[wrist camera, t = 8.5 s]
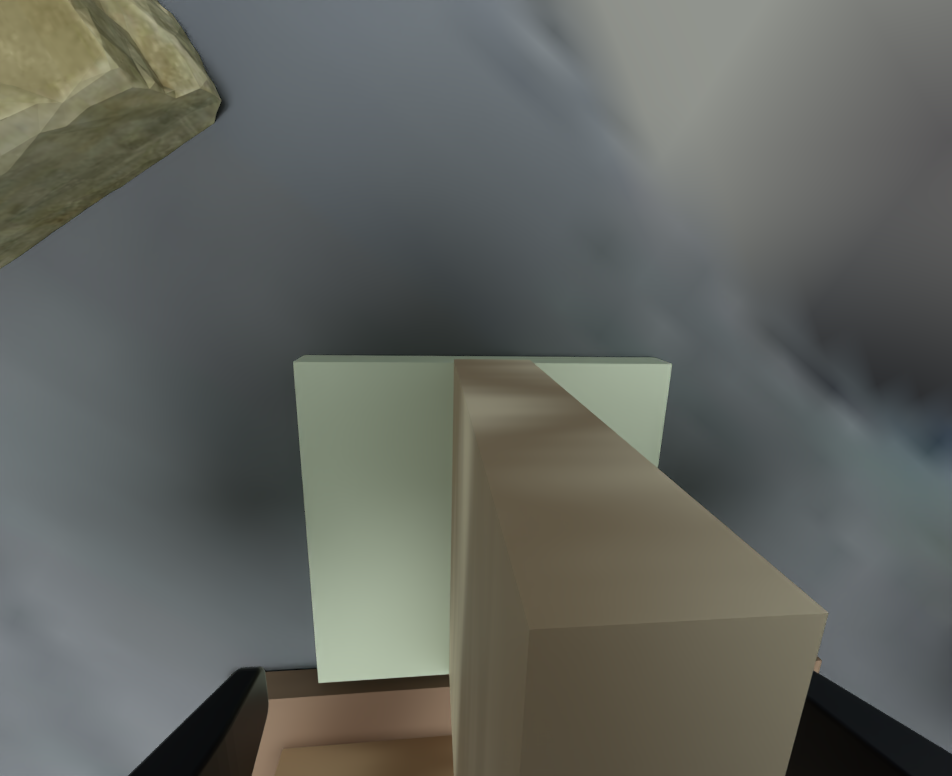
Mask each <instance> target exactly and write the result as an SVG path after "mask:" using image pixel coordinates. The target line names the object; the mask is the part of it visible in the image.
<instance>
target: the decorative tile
mask: <svg viewBox="0 0 952 776" xmlns="http://www.w3.org/2000/svg"><path fill="white" fill-rule="evenodd" d="M220 103H221V99H220V97H219V94H218V92H217V90H216V87H215V85H214V84H213V82H212V81H211V79H210V78H209V76H208V75H207V73H206V71H205V69H204V66H203V63H202V61H201V58H200V55H199V54H198V52H197V51H196V50H195V48H194V47H193V46H192V44H191V42H190V41H189V39H188V37H187V36H186V34H185V32H184V31H183V29H182V28H181V26H180V25H179V23H178V22H177V21H176V19H175V18H174V16H173V15H172V14H171V13H170V12H169V11H167V10H166V9H165V8H163V7H162V6H161V5H160V3H159V2H158V1H157V0H0V269H1V268H2V267H4V266H5V265H7V264H8V263H10V262H11V261H13V260H14V259H16V258H17V257H19V256H21V255H22V254H23V253H25V252H26V251H28V250H29V249H30V248H32V247H33V246H35V245H36V244H37V243H39V242H40V241H42V240H43V239H44V238H46V237H47V236H48V235H50V234H51V233H52V232H53V231H55V230H57V229H58V228H60V227H61V226H63V225H64V224H66V223H67V222H69V221H70V220H71V219H73V218H74V217H76V216H77V215H79V214H80V213H81V212H83V211H84V210H85V209H87V208H88V207H90V206H91V205H93V204H94V203H96V202H97V201H99V200H100V199H102V198H103V197H105V196H106V195H108V194H109V193H111V192H112V191H114V190H116V189H118V188H120V187H122V186H123V185H125V184H126V183H127V182H129V181H130V180H132V179H133V178H134V177H136V176H137V175H139V174H140V173H142V172H143V171H145V170H146V169H148V168H149V167H151V166H152V165H154V164H155V163H157V162H158V161H160V160H161V159H163V158H164V157H166V156H167V155H169V154H170V153H171V152H173V151H174V150H176V149H177V148H178V147H180V146H181V145H183V144H184V143H185V142H187V141H188V140H190V139H191V138H193V137H194V136H196V135H197V134H199V133H200V132H202V131H203V130H205V129H206V128H208V127H209V126H211V125H212V124H213V123H214V122H215V117H216V113H217V110H218V108H219V105H220Z"/></svg>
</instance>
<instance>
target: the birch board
mask: <svg viewBox="0 0 952 776" xmlns="http://www.w3.org/2000/svg"><path fill="white" fill-rule="evenodd" d="M827 617H828V612H827V611H826V610H824V609H823V608H822V607H821V606H820V605H819V604H817V603H816V602H815V601H814V600H813V599H811V598H810V597H809V596H808V595H807V594H806V593H804V592H803V591H802V590H801V589H800V588H799V587H797V586H796V585H795V584H794V583H793V582H791V581H790V580H789V579H788V578H787V577H786V576H784V575H783V574H782V573H781V572H780V571H778V570H777V569H776V568H775V567H774V566H773V565H771V564H770V563H769V562H768V561H767V560H765V559H764V558H763V557H762V556H761V555H760V554H758V553H757V552H756V551H755V550H754V549H752V548H751V547H750V546H749V545H748V544H747V543H745V542H744V541H743V540H742V539H741V538H740V537H738V536H737V535H736V534H735V533H734V532H732V531H731V530H730V529H729V528H728V527H727V526H725V525H724V524H723V523H722V522H721V521H719V520H718V519H717V518H716V517H715V516H714V515H712V514H711V513H710V512H709V511H708V510H706V509H705V508H704V507H703V506H702V505H701V504H699V503H698V502H697V501H696V500H695V499H693V498H692V497H691V496H690V495H689V494H688V493H686V492H685V491H684V490H683V489H682V488H680V487H679V486H678V485H677V484H676V483H675V482H673V481H672V480H671V479H670V478H669V477H668V476H666V475H665V474H664V473H663V472H662V471H660V470H659V469H658V468H657V467H656V466H655V465H653V464H652V463H651V462H650V461H649V460H647V459H646V458H645V457H644V456H643V455H642V454H640V453H639V452H638V451H637V450H636V449H634V448H633V447H632V446H631V445H630V444H629V443H627V442H626V441H625V440H624V439H623V438H621V437H620V436H619V435H618V434H617V433H616V432H614V431H613V430H612V429H611V428H610V427H609V426H607V425H606V424H605V423H604V422H603V421H601V420H600V419H599V418H598V417H597V416H596V415H594V414H593V413H592V412H591V411H590V410H588V409H587V408H586V407H585V406H584V405H583V404H581V403H580V402H579V401H578V400H577V399H575V398H574V397H573V396H572V395H571V394H570V393H568V392H567V391H566V390H565V389H564V388H562V387H561V386H560V385H559V384H558V383H557V382H555V381H554V380H553V379H552V378H551V377H550V376H548V375H547V374H546V373H545V372H544V371H542V370H541V369H540V368H539V367H538V366H537V365H535V364H534V363H533V362H532V361H531V360H496V359H454V393H453V456H452V519H451V582H450V644H449V681H450V703H451V724H452V746H453V768H454V776H785V774H786V770H787V767H788V763H789V759H790V755H791V752H792V748H793V744H794V740H795V737H796V733H797V729H798V725H799V722H800V718H801V714H802V710H803V707H804V703H805V699H806V696H807V692H808V688H809V684H810V681H811V677H812V673H813V669H814V666H815V662H816V658H817V654H818V651H819V647H820V643H821V639H822V636H823V632H824V628H825V625H826V621H827Z"/></svg>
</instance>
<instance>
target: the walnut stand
mask: <svg viewBox="0 0 952 776" xmlns="http://www.w3.org/2000/svg"><path fill="white" fill-rule="evenodd" d="M821 662H822V660H821V659H820V658H819V657H818V656H817V658H816V662H815V666H814V669H813V670H814V671H815V672H817V673H819V670H820V666H821ZM231 675H232V674H231ZM265 675H266V684H267V692H268V701H269V707H268V715H267V719H266V723H265V727H264V731H263V735H262V738H261V742H260V746H259V750H258V754H257V758H256V761H255V765H254V769H253V773H252V776H275V772H276V769H277V766H278V763H279V760H280V756H281V753H282V750H283V749H290V748H302V747H314V746H326V745H338V744H351V743H363V742H375V741H387V740H400V739H412V738H424V737H436V736H448V735H452V724H451V703H450V681H449V674H445V675H430V676H415V677H400V678H386V679H371V680H356V681H341V682H326V683H318V671H317V669H305V670H289V671H274V672H265Z"/></svg>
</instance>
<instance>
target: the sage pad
mask: <svg viewBox="0 0 952 776" xmlns="http://www.w3.org/2000/svg"><path fill="white" fill-rule="evenodd" d="M454 359H496V360H531V361H532V362H533V363H534V364H535V365H537V366H538V367H539V368H540V369H541V370H542V371H544V372H545V373H546V374H547V375H548V376H550V377H551V378H552V379H553V380H554V381H555V382H557V383H558V384H559V385H560V386H561V387H562V388H564V389H565V390H566V391H567V392H568V393H570V394H571V395H572V396H573V397H574V398H575V399H577V400H578V401H579V402H580V403H581V404H583V405H584V406H585V407H586V408H587V409H588V410H590V411H591V412H592V413H593V414H594V415H596V416H597V417H598V418H599V419H600V420H601V421H603V422H604V423H605V424H606V425H607V426H609V427H610V428H611V429H612V430H613V431H614V432H616V433H617V434H618V435H619V436H620V437H621V438H623V439H624V440H625V441H626V442H627V443H629V444H630V445H631V446H632V447H633V448H634V449H636V450H637V451H638V452H639V453H640V454H642V455H643V456H644V457H645V458H646V459H647V460H649V461H650V462H651V463H652V464H653V465H655V466H656V467H657V468H658V463H659V456H660V449H661V442H662V434H663V427H664V420H665V412H666V405H667V398H668V391H669V383H670V376H671V369H672V364H671V363H668V362H665V361H663V360H660V359H657V358H654V357H519V356H376V355H303V356H302V357H300V358H299V359H297V360H295V361H294V362H293V368H294V380H295V393H296V406H297V418H298V431H299V444H300V456H301V469H302V481H303V494H304V507H305V519H306V532H307V545H308V557H309V570H310V583H311V595H312V608H313V621H314V633H315V646H316V658H317V671H318V683H326V682H341V681H356V680H371V679H386V678H400V677H415V676H430V675H445V674H449V644H450V582H451V519H452V456H453V393H454Z"/></svg>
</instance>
